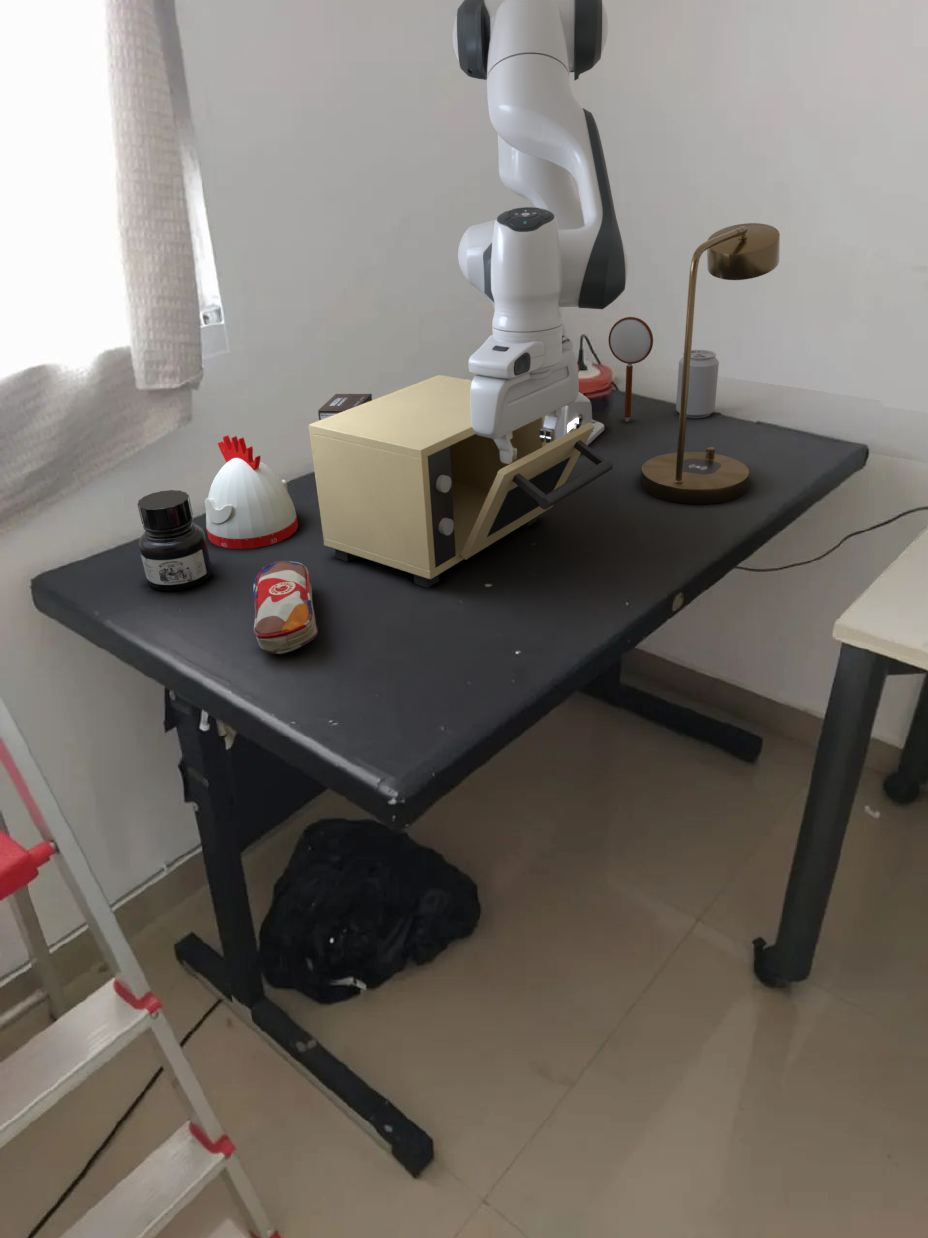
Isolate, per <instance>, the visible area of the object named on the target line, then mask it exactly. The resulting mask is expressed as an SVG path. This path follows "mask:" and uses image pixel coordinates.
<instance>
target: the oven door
mask: <svg viewBox="0 0 928 1238" xmlns="http://www.w3.org/2000/svg"><path fill="white" fill-rule="evenodd" d="M593 429H594V426H593V425H592V424H591V423H588V424H586V425H584V426H582V427H580V428H578V429H576V430H574V431H572V432H570V433H569V434H567V435H565V436H563V437H561V438H559V439H557V440H555V441H553V442H551V443H550V444H548V445H546V446H544V447H542V448H540V449H538V450H536V451H534V452H532V453H531V454H529V455H527V456H525V457H523V458H521V459H519V460H517V461H515V462H513V463H512V464H510V465H508V466H506V467H504V468H502V469H500V470H499V471H498V474H497V476H496V478H495V480H494V482H493V485H492V487H491V489H490V491H489V494H488V496H487V498H486V500H485V502H484V505H483V507H482V509H481V511H480V513H479V516H478V518H477V520H476V522H475V524H474V527H473V529H472V531H471V533H470V535H469V538H468V540H467V542H466V544H465V546H464V549H463V551H462V553H461V556H462V557H463V558H464V559H463V560H468V559H469V558H471V557H473V556H474V555H476V554H478V553H479V552H481V551H483V550H484V549H486V548H488V547H489V546H490V545H492V544H494V543H495V542H497V541H499V540H501V539H503V538H504V537H506V536H507V535H509V534H510V533H512V532H513V531H515V530H518V529H519V528H520V527H521V526H524V525H523V524H525V523H527V522H528V521H530V520H532V519H533V518H535V517H537V518H538V516H539V515H540V516H541V515H542V514H543V513H545V512H546V511H548V510H550V509H551V508H553V507H554V505H555V504H556V505H557V503H559V502H560V501H562V500H564V499H566V498H567V497H569V496H570V495H572V494H574V493H575V492H577V491H579V490H580V489H582V488H583V487H586V486H587V485H588V484H590V483H592V482H593V481H596V480H597V479H599V478H600V477H602V476H603V475H605V474H607V473H608V472H610V471H611V470H613V468H614V463H613V461H612V460H610V459H605V458H604V457H603V456H601V455H600V454H599V453H598V452H596V451H595V450H594V449H592V448H591V447H590V446H589V445H586V442H587V440H588V438H589V436H590V434H591V433H592V431H593ZM581 454H582V456H584V457H585V458H586V459H588V460H590V462H592V463H593V464H594V466H592V467H590V468H589V469H587V470H586V471H584V472H582V473H580V474H579V475H577V476H575V477H573V478H572V479H570V480H568V479H569V476H570V475H571V473H572V471H573V469H574V466H575V465H576V463H577V461H578V459H579V457H580V455H581Z"/></svg>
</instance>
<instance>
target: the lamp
mask: <svg viewBox="0 0 928 1238" xmlns="http://www.w3.org/2000/svg"><path fill="white" fill-rule="evenodd" d="M780 234H781V233H780V231H779V230H778V229H777V228H776V227H774V226H773V225H770V224H767V223H765V224H764V223H761V222H759V223H758V222H757V223H756V222H747V223H739V224H734V225H729V226H726V227H724V228H722V229H719V230H717V231H715V232H714V233H712V234H711V235H710V236H709V237H708V239H707V240H706V241H704V242H703V243H701V244H700V245H699V246H698V247H696V249H695V251H694V253H693V254H692V259H691V262H690V268H689V276H688V277H689V278H688V287H687V288H688V289H687V303H686V304H687V305H686V317H685V331H684V332H685V333H684V345H683V346H684V347H683V353H684V360H683V374H682V389H681V404H680V413H679V419H678V434H677V451H676V452H670V453H664V454H659V455H657V456H654V457H652V458H650V459H648V460H646V461H645V462H644V463H643V464H642V466H641V471H640V472H641V473H640V486H641V488H642V489H643V490H644V491H645V492H647V493H648V494H649V495H651V496H652V497H655V498H658V499H660V500H663V501H667V502H671V503H672V502H673V503H678V504H685V505H686V504H687V505H711V504H720V503H725V502H728V501H732V500H735V499H737V498H739V497H742V496H743V495H745V493H747V490H748V489H749V488H748V487H749V479H750V470H749V468H748V466H747V465H746V464H745V463H743V462H741V461H740V460H737V459H736V458H733V457H730V456H727V455H723V454H718V453H715V450H716V449H715V448H716V447H713V446H708V447H706V451H685V443H686V429H687V417H686V416H687V402H688V389H689V375H690V361H691V350H692V343H693V333H694V332H693V331H694V320H695V319H694V317H695V306H696V305H695V304H696V293H697V292H696V289H697V279H698V268H699V263H700V260H701V258H702V255H703V254H704V252H705V251H706V255H707V256H706V257H707V258H706V260H707V262H706V263H707V271H708V274H710V275H711V276H712V277H715V278H717V279H721V280H726V281H744V280H750V279H755V278H759V277H762V276H764V275H767V274H768V273H771V272H772V271H773V270H775V269H776V268H777V267H778V266H779V264H780V246H781V245H780V240H781V238H780V236H781V235H780Z"/></svg>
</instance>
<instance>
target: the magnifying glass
mask: <svg viewBox="0 0 928 1238" xmlns="http://www.w3.org/2000/svg"><path fill="white" fill-rule="evenodd" d="M653 345H654V335H653V332H652V330H651V327H650V326H649V325H648V324H647V323H646V322H645V321H644V320H643V319H641V318H639V317H637V316H636V317H635V316H626V317H623V318H620V319H618V320H617V321H616V322H615V323H614V324H613V325H612V326H611V328H610V330H609V333H608V347H609V350H610V352H611V354H612V355H613V356H614V358H615V359H617V360H618V361H619V362H621V363H624V364H627V365H626V368H625V391H624V393H625V394H624V397H625V398H624V418H625V422H626V423H629V421H630V418H631V417H632V416H631V415H632V394H633V392H632V390H633V369H634V367H633V365H634V364H635V365H636V364H638V363H641V362H642V361H644V360H646V359H647V358H648V356H649V355H650V354H651V351H652V349H653Z"/></svg>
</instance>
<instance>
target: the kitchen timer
mask: <svg viewBox="0 0 928 1238" xmlns="http://www.w3.org/2000/svg"><path fill="white" fill-rule="evenodd" d="M217 446H218V449H219V451H220V453H221V455H222V456H223V458H224V461H225V464H224V465H222V467H221V468H220V469H219V470H218V472H217V473H216V475H215V476H214V478H213V481H212V482H211V486H210V488H209V492H208V495H207V497H206V498H205V499H204V509H205V528H206V534H207V538H208V540H209V541H210V542H211V544H213V545H216V546H217V547H220V548H225V549H231V550H232V549H233V550H246V549H248V550H249V549H257V548H262V547H263V548H264V547H267V546H270V545H274V544H276V543H280V542H283V541H284V540H286V539H288V538H290V537H291V536H292V535H293V534H295V533H296V532H297V529H298V527H299V522H298V517H297V512H296V507H295V505H294V502H293V500H292V498H291V495H290V493H289V491H288V488H289V487H288V483H287V481H286V480H285V479H281V478H280V477H279V476H278V475H277V474H276V473H275V472H274V471H273V469H271V468H270V467H269V466H268V465H267V464H266V463H264V462H263V461H261V455H257V456H255V457H254V454H253V453H254V447H253V445H251V446H249V447H247V444H246V440H245V438H244V437H240V438H238V436H237V435H235V436H233V437H230V436H229V435H228V434H227V435H224V436H222V441H219V442H217Z"/></svg>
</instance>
